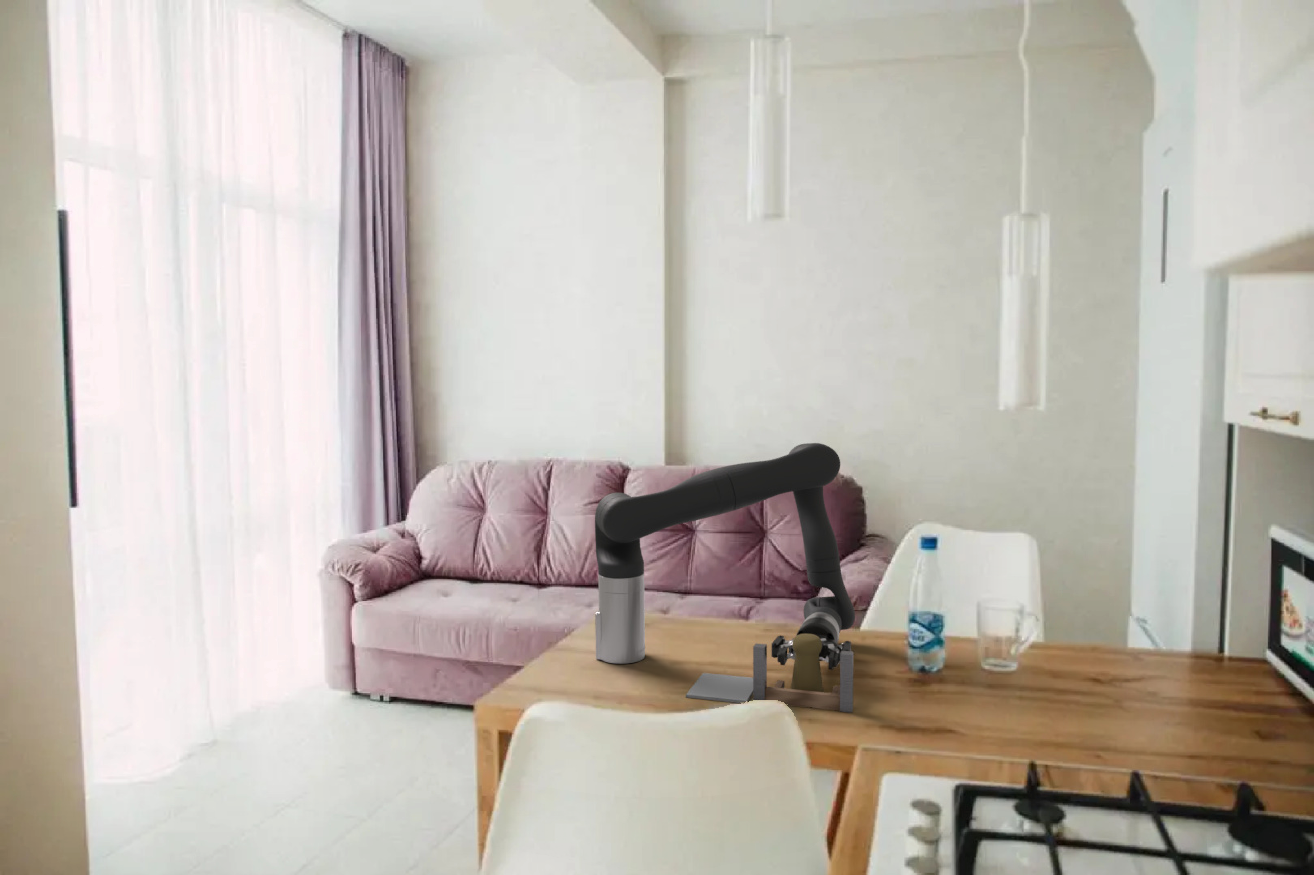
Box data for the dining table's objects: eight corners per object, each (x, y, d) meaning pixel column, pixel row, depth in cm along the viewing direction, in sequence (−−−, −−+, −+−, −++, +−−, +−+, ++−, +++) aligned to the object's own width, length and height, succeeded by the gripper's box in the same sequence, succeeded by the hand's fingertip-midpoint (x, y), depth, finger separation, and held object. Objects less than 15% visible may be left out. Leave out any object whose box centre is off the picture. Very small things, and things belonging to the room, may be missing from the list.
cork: (822, 689, 169) (823, 630, 168) (825, 702, 163) (825, 640, 162) (789, 688, 169) (789, 629, 169) (790, 701, 163) (790, 640, 163)
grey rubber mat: (686, 697, 166) (685, 694, 166) (703, 675, 177) (703, 672, 177) (746, 703, 162) (746, 700, 162) (760, 680, 174) (760, 678, 174)
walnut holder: (753, 702, 163) (753, 646, 162) (762, 685, 171) (762, 632, 170) (851, 712, 158) (852, 655, 157) (856, 695, 166) (857, 640, 165)
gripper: (781, 614, 182) (766, 638, 166) (856, 619, 177) (847, 644, 162) (781, 651, 182) (766, 678, 167) (855, 658, 178) (846, 686, 163)
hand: (806, 662), depth 164 cm, fingers open, 8 cm apart
